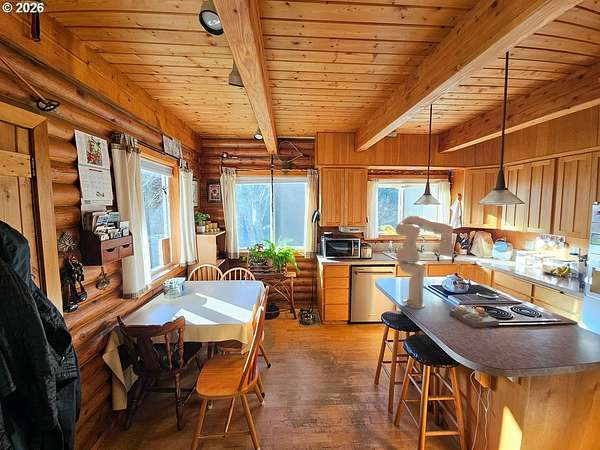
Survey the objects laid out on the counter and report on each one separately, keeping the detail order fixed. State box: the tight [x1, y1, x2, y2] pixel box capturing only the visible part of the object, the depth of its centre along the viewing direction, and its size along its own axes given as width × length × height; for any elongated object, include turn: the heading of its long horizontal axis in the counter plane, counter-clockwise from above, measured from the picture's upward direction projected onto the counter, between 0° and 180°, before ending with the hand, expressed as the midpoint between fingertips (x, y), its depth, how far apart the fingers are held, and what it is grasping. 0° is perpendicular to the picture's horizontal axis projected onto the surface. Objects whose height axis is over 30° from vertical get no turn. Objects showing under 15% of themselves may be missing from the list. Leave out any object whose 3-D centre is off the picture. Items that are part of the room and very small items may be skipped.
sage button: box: [470, 311, 478, 318], centre depth 163 cm, size 4×4×2 cm
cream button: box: [457, 304, 467, 311], centre depth 173 cm, size 4×4×2 cm
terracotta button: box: [475, 306, 485, 314], centre depth 169 cm, size 4×4×2 cm
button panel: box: [449, 307, 500, 328], centre depth 169 cm, size 17×20×4 cm
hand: (445, 262), depth 209 cm, fingers open, 9 cm apart
